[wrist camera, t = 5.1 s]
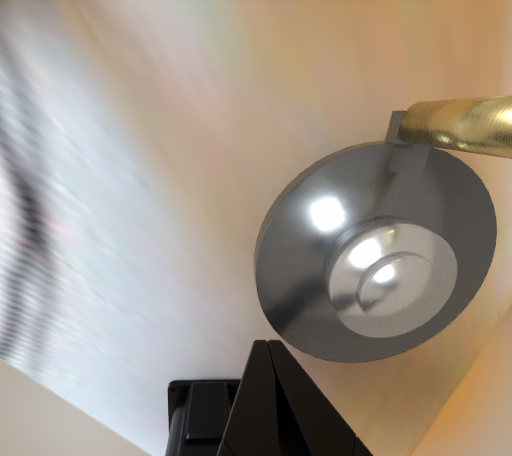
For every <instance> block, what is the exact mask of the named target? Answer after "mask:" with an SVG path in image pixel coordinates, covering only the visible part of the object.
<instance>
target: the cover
mask: <svg viewBox="0 0 512 456" xmlns="http://www.w3.org/2000/svg"><path fill="white" fill-rule="evenodd" d="M456 278H457V260H456V257H455V254H454V252H453V250H452V248H451V247H450V245H449V244H448V243H447V242H446V241H445V240H444V239H443V238H442V237H440V236H439V235H437V234H435V233H434V232H432V231H430V230H428V229H427V228H425V227H423V226H421V225H419V224H418V223H416V222H414V221H412V220H410V219H408V218H405V217H401V216H394V215H383V216H377V217H373V218H369V219H366V220H364V221H361V222H359V223H358V224H356V225H354V226H352V227H351V228H349V229H348V230H347V231H345V232H344V233H343V234H342V235H341V236H340V237H339V238H338V239H337V240H336V241H335V242H334V244H333V245H332V247H331V248H330V250H329V251H328V253H327V255H326V258H325V260H324V263H323V267H322V285H323V289H324V291H325V294H326V295H327V297H328V299H329V301H330V303H331V305H332V306H333V308H334V310H335V312H336V314H337V315H338V317H339V319H340V320H341V322H342V323H343V324H344V325H345V326H346V327H347V328H349V329H350V330H352V331H353V332H356V333H358V334H360V335H363V336H367V337H374V338H385V337H393V336H397V335H401V334H404V333H407V332H410V331H412V330H414V329H416V328H418V327H419V326H421V325H423V324H424V323H426V322H427V321H428V320H430V319H431V318H432V317H433V316H434V315H436V314H437V313H438V311H439V310H440V309H441V308H442V307H443V306H444V304H445V303H446V302H447V300H448V298H449V297H450V295H451V293H452V291H453V289H454V286H455V283H456Z"/></svg>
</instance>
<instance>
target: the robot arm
mask: <svg viewBox="0 0 512 456" xmlns="http://www.w3.org/2000/svg"><path fill="white" fill-rule="evenodd" d="M168 416H169V438H168V444H167V449H166V454H165V456H373V455H372V454H371V452H370V451H369V450H368V449H367V447H366V446H365V445H364V444H363V442H362V441H361V440H360V439H359V438H358V437H356V434H355V433H354V431H353V430H352V429H351V428H350V426H349V425H348V424H347V423H346V421H345V420H344V419H343V418H342V416H341V415H340V414H339V413H338V411H337V410H336V409H335V408H334V406H333V405H332V404H331V403H330V402H329V400H328V399H327V398H326V397H325V395H324V394H323V393H322V392H321V390H320V389H319V388H318V387H317V385H316V384H315V383H314V382H313V380H312V379H311V378H310V377H309V375H308V374H307V373H306V372H305V370H304V369H303V368H302V367H301V365H300V364H299V363H298V362H297V360H296V359H295V358H294V357H293V355H292V354H291V353H290V352H289V350H288V349H287V348H286V347H285V345H284V344H283V343H282V342H281V341H280V340H269V341H266V340H255V341H254V342H253V345H252V348H251V351H250V354H249V357H248V360H247V364H246V367H245V370H244V373H243V376H242V379H241V380H206V381H172V382H170V383H169V386H168Z"/></svg>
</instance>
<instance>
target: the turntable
mask: <svg viewBox="0 0 512 456" xmlns="http://www.w3.org/2000/svg"><path fill="white" fill-rule="evenodd" d="M433 147H438V148H444V149H451V150H457V151H464V152H471V153H477V154H484V155H490V156H497V157H504V158H510V159H512V95H507V96H493V97H480V98H466V99H452V100H438V101H424V102H418V103H415V104H414V105H412V106H411V107H409V108H408V109H407V111H393V112H392V116H391V120H390V124H389V128H388V132H387V136H386V140H385V141H377V142H369V143H362V144H359V145H355V146H351V147H347V148H344V149H342V150H339V151H337V152H334V153H332V154H330V155H328V156H326V157H324V158H323V159H321V160H319V161H317V162H315V163H314V164H312V165H311V166H310V167H308V168H307V169H306V170H304V171H303V172H301V173H300V174H299V175H298V176H297V177H296V178H295V179H294V180H293V181H292V182H291V183H289V184H288V185H287V187H286V188H285V189H284V190H283V191H282V193H281V194H280V195H279V196H278V197H277V199H276V200H275V202H274V203H273V205H272V206H271V208H270V210H269V211H268V213H267V215H266V217H265V219H264V221H263V223H262V226H261V228H260V232H259V235H258V238H257V241H256V247H255V253H254V273H255V281H256V287H257V293H258V297H259V301H260V304H261V307H262V310H263V312H264V314H265V316H266V318H267V320H268V321H269V323H270V324H271V326H272V327H273V329H274V330H275V331H276V332H277V333H278V334H279V335H280V336H281V337H282V338H283V339H284V340H285V341H286V342H288V343H289V344H290V345H292V346H293V347H295V348H297V349H298V350H300V351H302V352H304V353H306V354H309V355H311V356H313V357H317V358H320V359H324V360H328V361H335V362H347V363H355V362H367V361H374V360H379V359H383V358H387V357H391V356H394V355H397V354H400V353H402V352H405V351H407V350H409V349H412V348H414V347H416V346H418V345H420V344H421V343H423V342H425V341H427V340H428V339H430V338H432V337H433V336H434V335H436V334H437V333H439V332H440V331H442V330H443V329H444V328H445V327H446V326H447V325H449V324H450V323H451V322H452V321H453V320H454V319H455V318H456V317H457V316H458V315H459V314H460V313H461V312H462V311H463V310H464V309H465V308H466V306H467V305H468V304H469V303H470V301H471V300H472V299H473V297H474V296H475V294H476V293H477V291H478V290H479V288H480V287H481V285H482V283H483V281H484V279H485V277H486V275H487V273H488V270H489V267H490V265H491V262H492V259H493V255H494V250H495V245H496V236H497V225H496V215H495V210H494V205H493V202H492V200H491V197H490V195H489V192H488V190H487V189H486V187H485V185H484V184H483V182H482V180H481V179H480V178H479V177H478V176H477V174H476V173H475V172H474V171H473V170H472V169H471V168H470V167H469V166H467V165H466V164H465V163H464V162H462V161H461V160H460V159H458V158H456V157H454V156H452V155H451V154H449V153H447V152H444V151H441V150H439V149H436V148H433ZM383 215H394V216H401V217H405V218H408V219H410V220H412V221H414V222H416V223H418V224H419V225H421V226H423V227H425V228H427V229H428V230H430V231H432V232H434V233H435V234H437V235H439V236H440V237H442V238H443V239H444V240H445V241H446V242H447V243H448V244H449V245H450V247H451V248H452V250H453V252H454V254H455V257H456V260H457V278H456V283H455V286H454V289H453V291H452V293H451V295H450V297H449V298H448V300H447V302H446V303H445V304H444V306H443V307H442V308H441V309H440V310H439V311H438V313H437V314H436V315H434V316H433V317H432V318H431V319H430V320H428V321H427V322H426V323H424V324H423V325H421V326H419V327H418V328H416V329H414V330H412V331H410V332H407V333H404V334H401V335H397V336H393V337H385V338H374V337H367V336H363V335H360V334H358V333H356V332H353V331H352V330H350V329H349V328H347V327H346V326H345V325H344V324H343V323H342V322H341V320H340V319H339V317H338V315H337V314H336V312H335V310H334V308H333V306H332V305H331V303H330V301H329V299H328V297H327V295H326V294H325V291H324V289H323V285H322V267H323V263H324V260H325V258H326V255H327V253H328V251H329V250H330V248H331V247H332V245H333V244H334V242H335V241H336V240H337V239H338V238H339V237H340V236H341V235H342V234H343V233H344V232H345V231H347V230H348V229H349V228H351V227H352V226H354V225H356V224H358V223H359V222H361V221H364V220H366V219H369V218H373V217H377V216H383Z"/></svg>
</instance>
